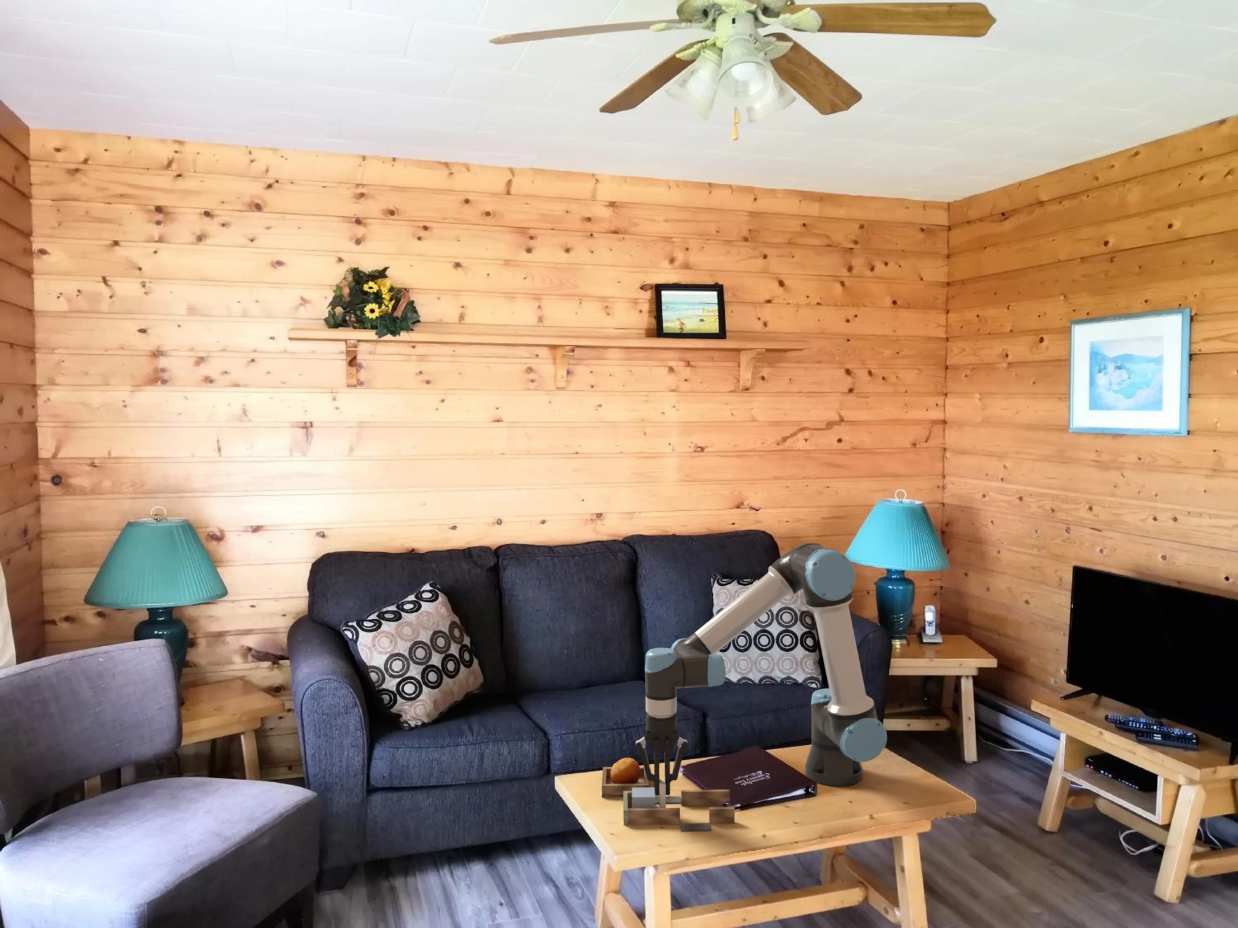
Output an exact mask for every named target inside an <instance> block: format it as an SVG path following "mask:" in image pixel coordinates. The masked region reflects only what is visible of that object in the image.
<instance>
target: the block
mask: <svg viewBox="0 0 1238 928" xmlns="http://www.w3.org/2000/svg"><path fill="white" fill-rule="evenodd" d="M655 797H656V795H655V788H654V787H653V786H652V787H650V786H649V788H632V806H631V809H634V808H656V804H655Z"/></svg>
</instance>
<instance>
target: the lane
mask: <svg viewBox="0 0 1238 928" xmlns="http://www.w3.org/2000/svg"><path fill="white" fill-rule="evenodd" d="M730 793H731V791H730V789H682V790H681V791H680V795H678V796H676V795H675V796H674V795H673V796H672V795H666V805H667V804H669V805H670V804H681V806H688V807H689V806H712V807H708V822H689V823H688V822H686V823H685V822H683V823H682V822H681V807H666V808H660V807H655V808H634V809H632V808H628V807H632V791H623V797H622V799H623V801H622V802H623V808H622V809H623V810H622V811H623V826H625V825H626V826H627V825H629V826H632V825H635V826H636V825H639V826H640V825H644V826H645V825H680V832H711V831H712V828H711V824H712V825H713V824H719V825H720V824H736V822H735V821H736V820H735V818H736V817H735V812H736V811H735V810H736V809H735V807H733V806H727V807H726V806H724V805H723V802H726V801H731V796H730V795H731V794H730ZM657 804H658V805H659V796H655V805H657ZM713 806H714V807H713ZM715 806H716V807H715ZM717 806H718V807H717ZM719 806H721V807H719ZM723 806H724V807H723Z"/></svg>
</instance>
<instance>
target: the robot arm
mask: <svg viewBox="0 0 1238 928" xmlns="http://www.w3.org/2000/svg"><path fill="white" fill-rule="evenodd" d="M767 571H768V572H767V573H766V574H764V575H763V576H762V577H760V578H759V580H758V581H756V582H755V583H754V584H752V585H751V586H749V588H748V589H746V590H744V592H743V593H742V594H740V595H739V596H737V598H736V599H734V600H733V601H732V602H730V603H729V604H728V605H726V607H724V608H723V609H722V610H720V611H719V612H718V613H716V615H714V616H713V617H712V618H710V620H708V621H707V622H706V623H705V624H704V625H703V626H701V627H700V628H699V629H698V630H696V631H695V632H694V633H693V634H691V635H690V636H689V637H687V638H684V637H683V638H679V639H677V640H675V642H673V643H672V644H671V647H670V648H669V647H655V648H650V649H649V650H648V651H647V652H646V654H645V659H644V660H645V662H644V663H645V665H644V671H645V674H644V677H645V712H646V713H645V732H644V734H643V737H641V738H640V739H636V740H635V747H636V748H637V750H638V751H639V754H640V757H641V761H642V765H643V767H644V769H645V772H646V776H647V780H648V781H649V782H653V784H654V791H655V796H658V797H659V804H658V805H659V807H658V808H667V807H666V806H667V804H666V796H671V782H673V781H677V780H678V779H679V774H680V770H681V769H680V768H681V766H682V761H683V757H684V752H685V751H686V750H687V747H688V746H689V743H688V740H687V738H683V737H680V733H679V732H678V717H677V711H678V709H677V706H678V705H677V703H678V702H677V701H678V700H677V696H678V695H677V690H678V689H687V688H689V689H690V688H707V687H709V688H711V687H715V686H721V685H723V684H724V682H725V681H726V676H727V674H726V673H727V671H726V664H725V660H724V658H723V656H722V655H721V654H718V652H719V651H720V650H722V649H723V648H724V647H726V646H727V645H728V644H729V643H730V642H732V641H733V640H734V639H735V638H737V637H738V636H739V635H740V634H741V633H742V632H744V631H745V630H746V629H747V628H749V627H750V626H751V625H752V624H754V623H755V622H756V621H758V620H759V619H760V618H761V617H763V615H765V614H766V613H767V612H768V611H770V610H771V609H772V608H773V607H775V606H776V605H777V604H778V603H780V602H781V601H782V600H783V599H785V597H787V596H788V597H789V596H791V597H793V596H795V595H796V594H797V593H798V592H799V591H802V590H803V594H804V595H803V596H804V598H805V599H804V600H805V605H806V607H807V608H808V609H810V610H812V611H813V613H814V618H815V623H816V629H817V633H818V638H819V639H818V640H819V643H820V648H821V649H820V650H821V654H822V658H823V663H824V668H825V669H824V670H825V674H826V677H827V683H828V688H821V689H817V690H814V692H812V695H811V702H810V708H811V709H810V711H811V714H810V715H811V719H810V720H811V721H810V722H811V746H810V748H809V753H808V754H807V758H806V761H805V764H804V773H805V776H806V778H808V779H809V780H811V781H812V782H815V783H817V784H822V785H825V786H834V787H845V786H852V785H855V784H858V783H860V782H861V781H862V780H863V779H864V769H863V765H862V763H866V762H869V761H873V760H874V759H875V758H877V757H878V756H880V754H881V753H882V751H883V750H884V749H885V747H886V746H887V745H886V744H887V743H888V742H887V741H888V735H887V733H888V732H887V730H886V728H885V725H883V723H882V722H881V721H880V720H879V719H878V716H877V712H876V705H875V702H874V700H873V698H872V697H870V696H868V695H867V692H866V687H865V684H864V678H863V672H862V667H861V662H860V658H859V653H858V652H859V651H858V647H857V643H856V637H855V633H854V632H855V631H854V627H853V623H852V617H851V612H850V607H849V604H851V602H852V601H853V599H854V594H853V587H855V584H856V570H855V567H854V564H853V563H852V562H851V560H850V559H849V558H848V557H847V556H846V555H844V554H843V553H841V552H840V551H838V550H836V549H834V548H828V547H827V546H826V547H825V546H824V545H821V544H819V543H816V542H806V543H802V544H799V545H797V546H795V547H792V549H790V550H788V551H787V552H786V553H784V554H783V555H782V556H781V557H779V558H778V559H777V560H776V561H775V562H773V563H772V564H771V565H769V567H768V570H767ZM646 743H647V744H646ZM676 744H677V747H678V748H677V751H676V755H675V759H674V765H673V767H672V773H671V750H672V749H673V748H674V747H675V745H676ZM646 745H648V746H649V748H651V750H652V751H653V766H654V767H653V772H652V769H651V766H650V762H649V758H648V755H647V750H646ZM661 752H663V753H664V779H663V778H662V779H660V753H661Z"/></svg>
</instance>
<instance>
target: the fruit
mask: <svg viewBox="0 0 1238 928" xmlns="http://www.w3.org/2000/svg"><path fill="white" fill-rule="evenodd" d="M611 767H612V768H611V771H610V774H611V781H612V782H613V783H614V784H636V783H637V782H638V780H639V777H640V767H641V766H640V765H639V763H638V762H637V761H636V760H635V758H631V757H624V758H621V759H619V760H618V761H616V762H615V763H613V765H612V766H611ZM639 783H640V782H639Z"/></svg>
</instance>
